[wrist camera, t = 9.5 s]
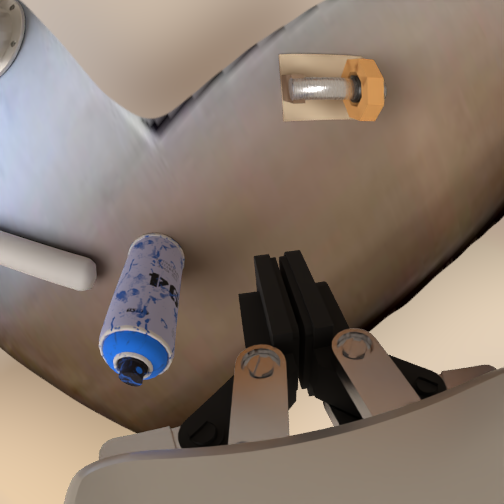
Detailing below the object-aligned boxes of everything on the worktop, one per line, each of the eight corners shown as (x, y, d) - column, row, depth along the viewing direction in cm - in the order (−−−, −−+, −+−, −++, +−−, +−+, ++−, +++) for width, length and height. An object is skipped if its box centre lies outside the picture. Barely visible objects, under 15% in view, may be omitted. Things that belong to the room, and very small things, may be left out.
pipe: (287, 74, 28) (294, 74, 26) (374, 76, 29) (387, 77, 26) (289, 102, 30) (296, 104, 27) (375, 102, 30) (388, 105, 28)
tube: (95, 264, 37) (-45, 218, 29) (89, 302, 38) (-48, 253, 30) (103, 254, 42) (-28, 214, 34) (97, 288, 43) (-31, 245, 35)
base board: (278, 54, 30) (289, 50, 25) (360, 56, 31) (382, 55, 26) (283, 121, 34) (295, 128, 30) (362, 118, 35) (383, 126, 30)
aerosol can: (196, 262, 43) (192, 385, 26) (156, 291, 44) (136, 411, 27) (157, 221, 39) (123, 337, 22) (117, 255, 41) (72, 371, 23)
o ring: (340, 59, 29) (366, 57, 24) (354, 60, 29) (383, 59, 24) (342, 115, 33) (368, 124, 27) (356, 115, 33) (383, 124, 27)
